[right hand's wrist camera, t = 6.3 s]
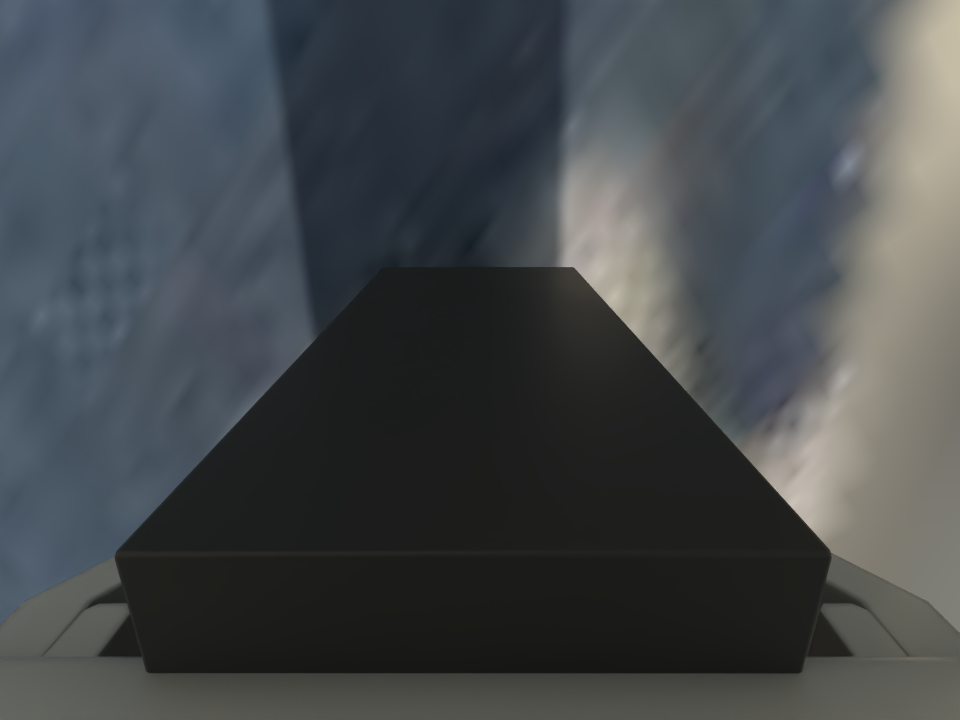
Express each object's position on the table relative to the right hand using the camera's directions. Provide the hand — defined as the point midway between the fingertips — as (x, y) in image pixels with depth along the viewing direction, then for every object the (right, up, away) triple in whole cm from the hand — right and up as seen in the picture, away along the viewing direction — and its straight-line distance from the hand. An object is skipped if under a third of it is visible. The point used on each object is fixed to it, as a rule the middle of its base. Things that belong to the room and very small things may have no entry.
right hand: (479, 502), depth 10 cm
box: (0, -4, +10) cm, 11 cm away
